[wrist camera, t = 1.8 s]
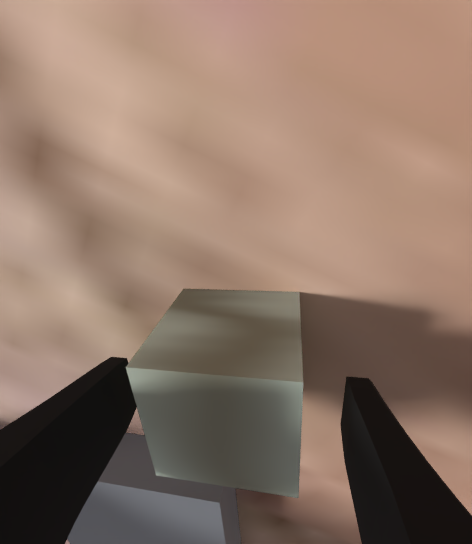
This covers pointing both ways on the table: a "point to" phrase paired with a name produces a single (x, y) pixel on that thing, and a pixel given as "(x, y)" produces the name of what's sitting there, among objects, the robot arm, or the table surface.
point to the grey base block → (153, 505)
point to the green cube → (224, 390)
